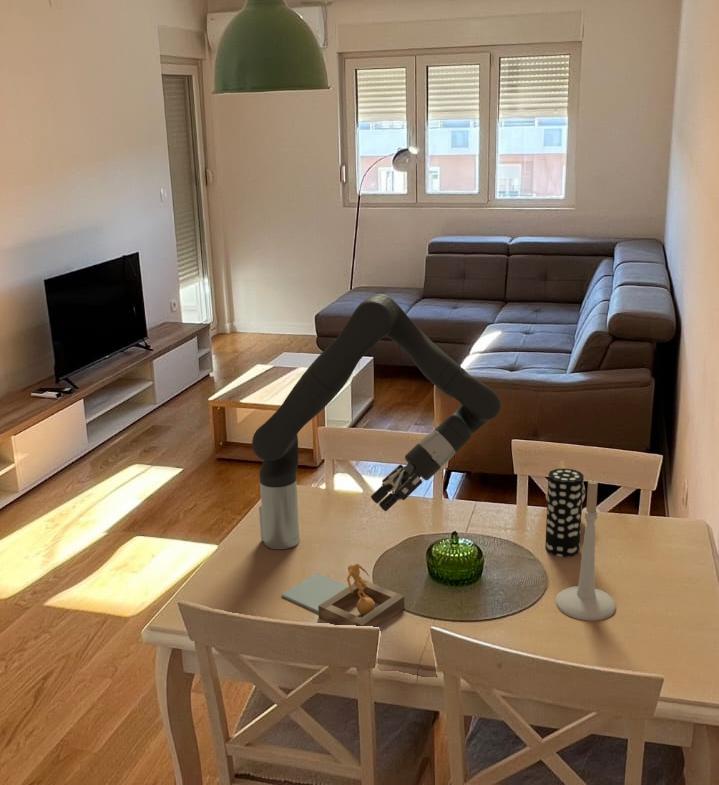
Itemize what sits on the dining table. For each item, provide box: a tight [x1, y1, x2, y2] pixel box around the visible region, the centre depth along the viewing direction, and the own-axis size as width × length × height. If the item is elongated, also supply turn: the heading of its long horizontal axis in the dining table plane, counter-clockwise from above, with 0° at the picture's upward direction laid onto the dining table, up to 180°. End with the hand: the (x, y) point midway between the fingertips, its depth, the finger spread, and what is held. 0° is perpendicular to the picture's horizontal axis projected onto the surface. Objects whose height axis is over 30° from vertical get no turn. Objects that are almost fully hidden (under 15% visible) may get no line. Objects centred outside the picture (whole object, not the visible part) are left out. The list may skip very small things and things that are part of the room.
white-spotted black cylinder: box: [544, 468, 585, 558], centre depth 212 cm, size 8×8×20 cm
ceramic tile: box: [281, 572, 349, 614], centre depth 197 cm, size 12×12×1 cm
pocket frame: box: [318, 578, 405, 628], centre depth 189 cm, size 12×14×3 cm
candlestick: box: [555, 479, 617, 621], centre depth 186 cm, size 13×13×30 cm
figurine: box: [346, 563, 376, 616], centre depth 188 cm, size 8×6×12 cm
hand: (377, 504), depth 191 cm, fingers open, 8 cm apart
